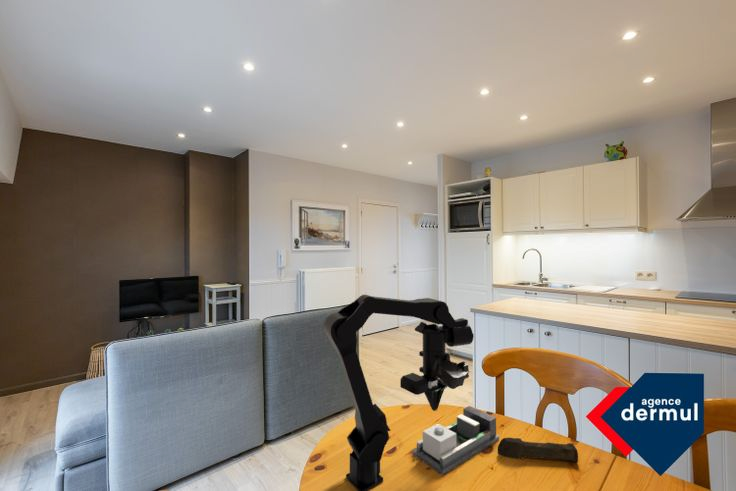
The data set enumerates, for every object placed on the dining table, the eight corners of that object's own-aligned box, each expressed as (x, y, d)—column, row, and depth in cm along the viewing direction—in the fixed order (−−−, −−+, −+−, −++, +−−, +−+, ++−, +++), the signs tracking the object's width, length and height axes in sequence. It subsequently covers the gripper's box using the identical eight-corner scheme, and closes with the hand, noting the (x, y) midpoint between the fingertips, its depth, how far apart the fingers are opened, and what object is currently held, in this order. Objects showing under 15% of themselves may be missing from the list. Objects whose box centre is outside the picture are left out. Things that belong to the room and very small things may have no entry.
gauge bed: (442, 475, 77) (442, 449, 77) (412, 454, 85) (412, 431, 85) (499, 439, 91) (499, 418, 91) (469, 424, 99) (468, 404, 99)
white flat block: (475, 441, 88) (475, 425, 88) (457, 431, 93) (456, 416, 93) (479, 438, 89) (479, 423, 89) (461, 429, 94) (461, 414, 94)
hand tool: (571, 456, 84) (571, 437, 84) (579, 466, 80) (579, 447, 80) (495, 449, 87) (495, 432, 87) (499, 459, 83) (499, 440, 83)
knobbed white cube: (440, 461, 79) (440, 439, 80) (422, 449, 84) (422, 428, 84) (456, 452, 83) (456, 431, 83) (438, 441, 88) (438, 421, 88)
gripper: (432, 365, 71) (433, 437, 71) (483, 349, 82) (484, 411, 82) (398, 352, 80) (399, 416, 80) (448, 339, 91) (448, 395, 91)
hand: (434, 410), depth 83 cm, fingers closed
